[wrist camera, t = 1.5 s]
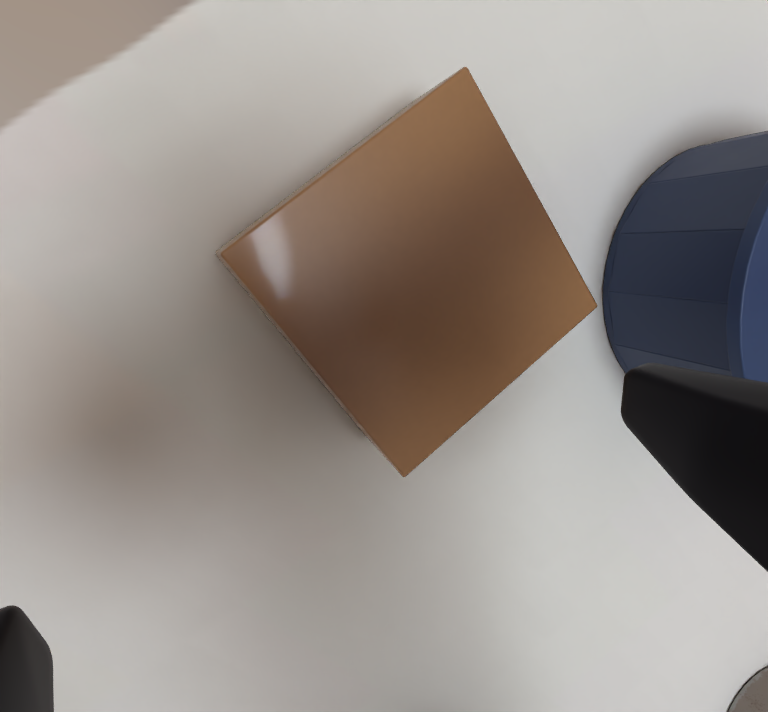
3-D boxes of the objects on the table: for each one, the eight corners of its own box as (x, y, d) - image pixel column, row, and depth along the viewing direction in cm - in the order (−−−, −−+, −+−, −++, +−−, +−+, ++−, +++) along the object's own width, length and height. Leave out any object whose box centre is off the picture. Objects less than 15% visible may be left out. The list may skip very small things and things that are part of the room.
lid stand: (531, 296, 25) (599, 306, 21) (367, 438, 24) (404, 478, 19) (414, 100, 22) (467, 64, 17) (214, 252, 20) (218, 253, 16)
